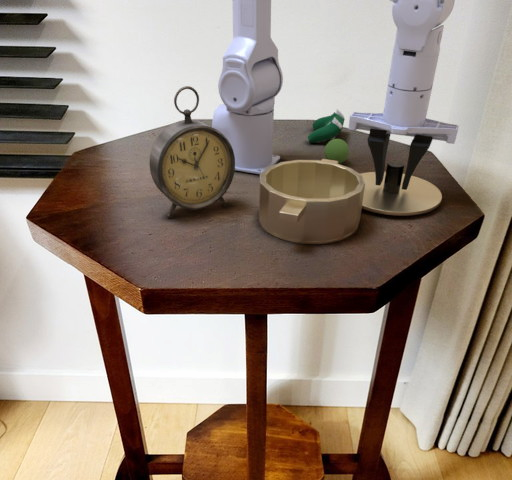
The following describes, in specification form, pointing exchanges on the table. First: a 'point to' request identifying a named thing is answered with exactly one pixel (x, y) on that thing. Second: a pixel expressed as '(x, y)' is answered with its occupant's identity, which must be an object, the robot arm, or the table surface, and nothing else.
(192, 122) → the alarm clock
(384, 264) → the table surface
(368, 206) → the lid
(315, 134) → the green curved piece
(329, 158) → the ball
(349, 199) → the pot
